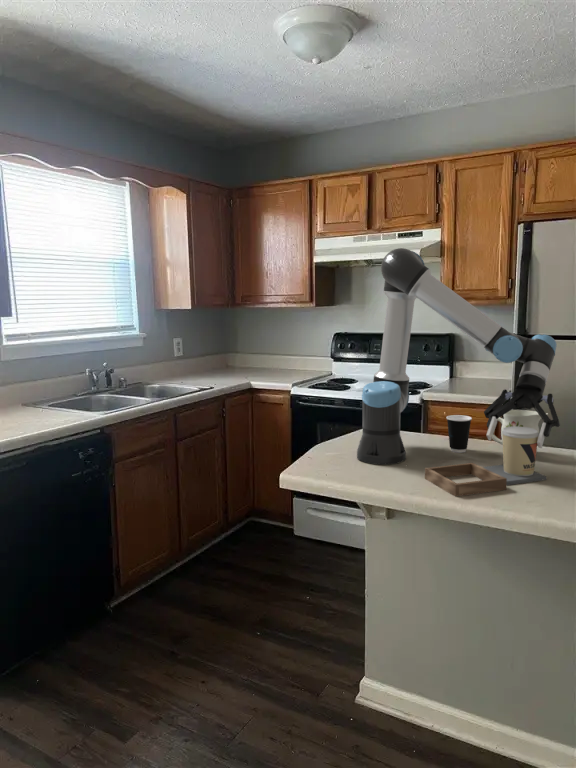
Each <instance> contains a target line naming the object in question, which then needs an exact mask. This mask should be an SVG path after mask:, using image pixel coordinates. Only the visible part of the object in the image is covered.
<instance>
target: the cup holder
mask: <svg viewBox="0 0 576 768" xmlns="http://www.w3.org/2000/svg"><path fill="white" fill-rule="evenodd" d="M483 467H484V466H481V465H478V464H476V463H474V462H468V463H458V464H457V463H456V464H450V465H442V466H441V465H440V466H432V467H425V468H424V479H425V480H427V481H428V482H430V483H431V484H433V485H434V486H436V487H438V488H440V489H442V490H443V491H445V492H447V493H449V494H450V495H452V496H454V497H455V498H456V497H462V496H463V497H465V496H470V495H477V494H484V493H485V492H486V493H492V492H499V491H506V490H507V485H506V483H507V479H506V478H504V477H502V476H500V475H498V474H496V473H493V472H491V471H489V470H487V469H485V468H483ZM460 475H461V476H466V475H467V476H469V475H471V476H474V477H476V478H477V479H478V480H475V481H464V482H459V483H458V482H455V481H453V480H451V479H449V478H452V477H451V476H453V477H459V476H460ZM479 479H480V480H479ZM481 479H482V480H481ZM486 493H485V494H486Z"/></svg>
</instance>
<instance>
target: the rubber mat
mask: <svg viewBox="0 0 576 768" xmlns="http://www.w3.org/2000/svg"><path fill="white" fill-rule="evenodd" d="M482 467H483V468H485V469H487V470H489V471H491V472H493V473H496V474H498V475H500V476H502V477H504V478H506V479H507V483H506V486H511V485H516V484H524V483H533V481H534V482H540V481H546V480H547V476H546V475H545V474H542V473H540V472H538V471H535V470H534V473H533V475H530V476H515V475H510V474H507V473H505V472H504V463H503V464H497V465H495V464H494V465H487V466H482Z"/></svg>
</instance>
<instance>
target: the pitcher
mask: <svg viewBox="0 0 576 768" xmlns="http://www.w3.org/2000/svg"><path fill="white" fill-rule="evenodd" d="M545 413H546V415H547V416H548V415H549V413H548V412H545ZM502 416H503V417H499V418H498V419H496V420H497V422H500V424H501V429H500V432H501V433H500V435H501V436H500V437H501V439H500V438H498V437H497V436H496V435H495V433H493V436H492V439H491V440H493V441H494V442H496V443H498V444H500V445H502V446H503V434H502V431H503V429H504V428H506V427H512V426H519V427H528V428H533V429H536V430H537V431H538V433H539V434H540V427H539V423H540V421H541V420H542V418H541V417H540V415H539V414H538V413H537V412H536V410H530V409H527V410H525V409H512V410H510V411H509V412H507V413H505V414H504V415H502ZM538 437H539V436H538Z"/></svg>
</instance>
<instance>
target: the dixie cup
mask: <svg viewBox="0 0 576 768" xmlns="http://www.w3.org/2000/svg"><path fill="white" fill-rule="evenodd" d="M445 418H446V420H447V428H448V430H447V432H448V440H449V448H450V451H451V452H452V453H458V454H459V453H466V452H467V449H468V443H469V437H470V431H471V430H470V429H471V422H472V420H473V418H472V416H469V415H461V414H453V415H447V416H446V417H445Z"/></svg>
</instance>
